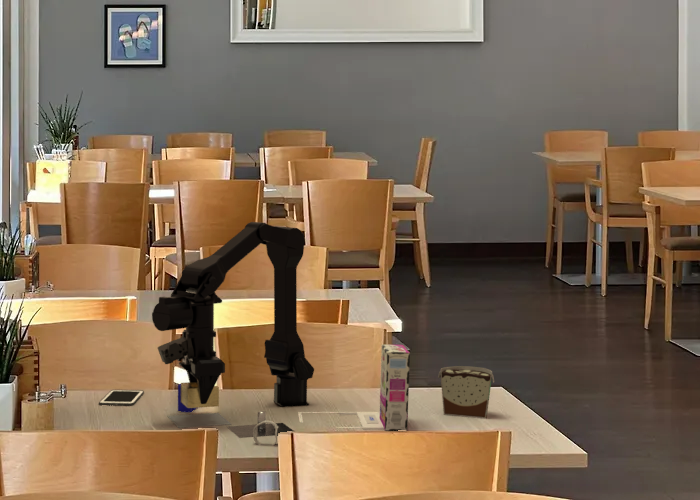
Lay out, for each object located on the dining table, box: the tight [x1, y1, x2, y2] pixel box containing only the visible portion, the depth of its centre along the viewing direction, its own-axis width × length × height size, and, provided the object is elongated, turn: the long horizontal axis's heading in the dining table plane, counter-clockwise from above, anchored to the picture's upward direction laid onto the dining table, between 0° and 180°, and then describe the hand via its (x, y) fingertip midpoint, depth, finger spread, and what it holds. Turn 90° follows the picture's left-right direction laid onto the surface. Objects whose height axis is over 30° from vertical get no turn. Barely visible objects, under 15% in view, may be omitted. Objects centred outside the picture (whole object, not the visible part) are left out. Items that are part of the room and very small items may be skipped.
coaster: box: [167, 412, 233, 429], centre depth 261 cm, size 11×11×1 cm
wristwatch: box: [252, 420, 280, 446], centre depth 242 cm, size 3×5×5 cm, turn 81°
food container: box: [437, 365, 495, 419], centre depth 273 cm, size 12×6×10 cm, turn 71°
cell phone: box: [98, 389, 145, 407], centre depth 283 cm, size 8×15×1 cm, turn 179°
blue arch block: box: [177, 383, 196, 413], centre depth 276 cm, size 12×4×6 cm, turn 170°
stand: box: [225, 410, 294, 439], centre depth 253 cm, size 12×10×4 cm
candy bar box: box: [379, 343, 411, 432], centre depth 260 cm, size 11×5×16 cm, turn 5°
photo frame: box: [297, 411, 385, 431], centre depth 264 cm, size 15×1×18 cm
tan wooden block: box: [180, 382, 220, 409], centre depth 260 cm, size 6×6×4 cm
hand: (199, 400), depth 260 cm, fingers closed on tan wooden block, 6 cm apart
